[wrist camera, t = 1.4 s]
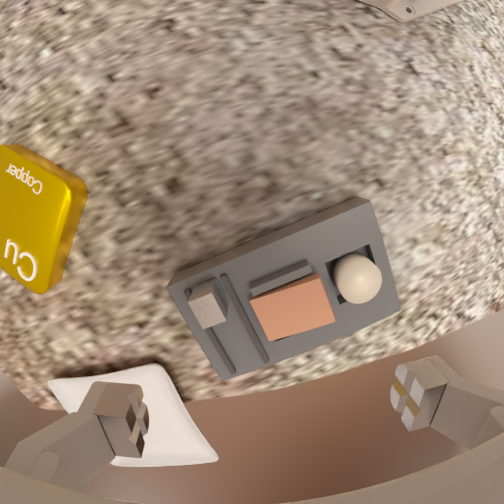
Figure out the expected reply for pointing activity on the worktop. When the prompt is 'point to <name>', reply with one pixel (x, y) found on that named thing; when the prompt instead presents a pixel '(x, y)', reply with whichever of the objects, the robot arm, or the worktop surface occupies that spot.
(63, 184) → the element tile
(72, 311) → the worktop surface
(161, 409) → the salad plate
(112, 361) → the worktop surface
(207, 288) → the slider lever
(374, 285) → the push button
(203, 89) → the worktop surface
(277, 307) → the rocker switch
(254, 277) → the control panel
